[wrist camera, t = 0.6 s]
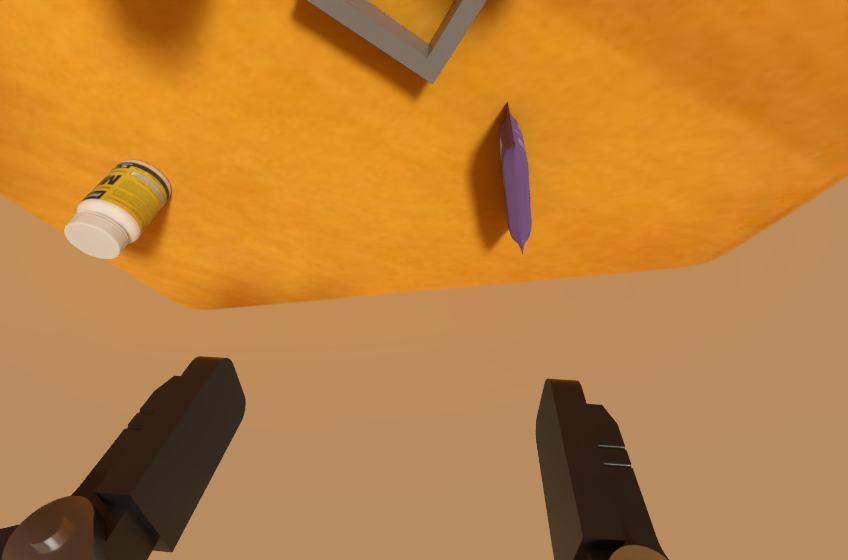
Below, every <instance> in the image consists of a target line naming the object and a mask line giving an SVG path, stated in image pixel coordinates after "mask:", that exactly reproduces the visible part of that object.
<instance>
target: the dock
mask: <svg viewBox="0 0 848 560" xmlns="http://www.w3.org/2000/svg"><path fill="white" fill-rule="evenodd" d="M307 1H309V2H310V3H312V4H313V5H315V6H316V7H318V8H319V9H321V10H322V11H324V12H325V13H327V14H328V15H330V16H331V17H333V18H334V19H336V20H337V21H339V22H340V23H342V24H343V25H345V26H346V27H348V28H349V29H351V30H352V31H354V32H355V33H357V34H358V35H360V36H361V37H363V38H364V39H366V40H367V41H369V42H370V43H372V44H373V45H375V46H376V47H378V48H379V49H381V50H382V51H384V52H385V53H387V54H388V55H390V56H391V57H393V58H394V59H396V60H397V61H399V62H400V63H402V64H403V65H405V66H406V67H408V68H409V69H411V70H412V71H414V72H415V73H417V74H418V75H420V76H421V77H422V78H424V79H425V80H427V81H428V82H430V83H431V84H433V83H434V82H435V80H436V79H437V77H438V75H439V74H440V72H441V71H442V69H443V68H444V66H445V64H446V63H447V61H448V60H449V58H450V57H451V55H452V54H453V52H454V50H455V49H456V47H457V46H458V44H459V43H460V41H461V40H462V38H463V36H464V35H465V33H466V32H467V30H468V29H469V27H470V25H471V24H472V22H473V21H474V19H475V18H476V16H477V15H478V13H479V11H480V10H481V8H482V7H483V5H484V4H485V2H486V0H455V2H454V3H453V5H452V7H451V8H450V10H449V12H448V14H447V15H446V17H445V19H444V20H443V22H442V24H441V25H440V27H439V29H438V30H437V32H436V34H435V36H434V37H433V39H432V41H431V42H430V44H427V43H426V42H425V41H423V40H422V39H420V38H419V37H417V36H416V35H415V34H413V33H412V32H410V31H409V30H408V29H406V28H405V27H403V26H402V25H400V24H399V23H398V22H396V21H395V20H393V19H392V18H391V17H389V16H388V15H386V14H385V13H383V12H382V11H381V10H379V9H378V8H376V7H375V6H374V5H372V4H371V3H369V2H368V1H367V0H307Z"/></svg>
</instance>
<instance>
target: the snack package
mask: <svg viewBox="0 0 848 560" xmlns="http://www.w3.org/2000/svg"><path fill="white" fill-rule="evenodd" d="M507 104H508V102H507ZM499 148H500V157H501V165H502V176H503V184H504V193H505V203H506V211H507V220H508V227H509V231H510V234H511V236H512V238H513V240H514V241H515V242H517V243H518V244H519V246H520V248H521V251H522V254H523V248H524V244H525V242H526V241H527V240H528V238H529V236H530V232H531V210H530V190H529V171H528V162H527V157H526V151H525V147H524V141H523V136H522V132H521V128H520V126H519V124H518V122H517V121H516V120H515V119H513V117H512V116H511V114H510V111H509V107H508V105H507V114H506V118H505V120H504V122H503V123H502V125H501V128H500V135H499Z"/></svg>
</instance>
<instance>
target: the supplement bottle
mask: <svg viewBox="0 0 848 560" xmlns="http://www.w3.org/2000/svg"><path fill="white" fill-rule="evenodd" d="M170 195H171V187H170V184H169V182H168V180H167V179H166V177H165V176H164V175H163V174H162V173H161V172H160V171H158V170H157V169H156V168H154V167H152V166H151V165H149V164H146V163H144V162H141V161H137V160H126V161H123V162H121V163H119V164H118V165H117V166H116V167H115V168H114V169H113V170H112V171H111V172H110V173H109V174H108V175H107V176H106V177H105V178H104V179H103V180H102V181H101V182H100V183H99V184H98V185H97V186H96V187H95V188H94V189H93V190H92V191H91V192H90V193H89V194H88V195H87V197H85V198H84V199H83V200H82V202H81V203H80V204H79V205H78V207H77V211H76V213H77V214H76V215H75V216H73V217H72V219H71V220H70V221H69V223H68V224H67V225H66V226H65V228H64V234H65V236H66V238H67V239H68V241H69V242H70V243H71V244H72V245H73V246H75V247H76V248H77V249H79V250H80V251H82V252H84V253H86V254H88V255H91V256H93V257H97V258H101V259H113V258H116V257H117V256H119V255H120V253H121V252H122V251H123V250H124V249H125V247H126V246H127V244H131V243H133V242H135V241H136V240H137V239H138V238H139V237H140V236H141V234H142V233H143V232H144V230H145V229H146V228H147V226H148V225H149V224H150V222H151V221H152V220H153V218H154V217H155V216H156V215H157V213H158V212H159V211H160V209H161V208H162V207H163V206H164V204H165V203H166V202H167V201H168V199H169V198H170Z"/></svg>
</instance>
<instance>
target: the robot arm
mask: <svg viewBox="0 0 848 560" xmlns="http://www.w3.org/2000/svg"><path fill="white" fill-rule="evenodd" d="M245 403H246V402H245V396H244V393H243V390H242V388H241V385H240V382H239V379H238V376H237V374H236V371H235V368H234V366H233V363H232V361H231V360H230V359H228V358H217V357H197V358H195V359H194V360H193V361H192V362H191V363H190V364H189V366H188V367H187V369H186V370H185V371H184V372H183V374H182V375H181V376H174V377H172V378H171V379H170V380H168V381H167V382H166V383H164V384H163V385H162V386H160V387H159V388H158V389H157V390H155V391H154V392H153V393H152V395H151V396H150V397H149V398H148V400H147V401H146V402H145V404H144V405H143V406H142V407H141V409H140V412H139V413H137V414H136V415H135V416H134V418H133V419H132V420H131V421H130V423H129V424H128V428H127V429H124V430H123V432H122V433H121V434H120V435H119V437H118V438H117V439H116V440H115V442H114V443H113V444H112V445H111V447H110V448H109V449H108V451H107V452H106V453H105V455H104V456H103V457H102V458H101V459H100V461H99V462H98V463H97V465H96V466H95V467H94V468H93V470H92V471H91V472H90V474H89V475H88V476H87V477H86V479H85V480H84V481H83V483H82V484H81V485H80V486H79V487H78V488H77V490H76V491H75V492H74V493H73V494H72V495H71V496H67V497H64V498H60V499H57V500H54V501H52V502H50V503H48V504H46V505H44V506H42V507H41V508H39V509H37V510H36V511H35V512H33V513H32V514H31V515H29V516H28V517H27V518H26V519H25V520H24V521H23V522H22V523H21V524H20V525H16V526H11V527H7V528H3V529H0V560H147V559H148V557H149V555H150V554H151V552H152V550H154V551H165V552H173V550H174V548H175V546H176V544H177V542H178V540H179V539H180V537H181V535H182V533H183V531H184V529H185V527H186V525H187V523H188V521H189V520H190V518H191V516H192V514H193V512H194V510H195V508H196V506H197V504H198V503H199V501H200V499H201V497H202V495H203V493H204V491H205V489H206V487H207V485H208V484H209V482H210V480H211V478H212V476H213V474H214V472H215V470H216V468H217V466H218V465H219V463H220V461H221V459H222V457H223V455H224V453H225V451H226V449H227V447H228V446H229V444H230V442H231V440H232V438H233V436H234V434H235V432H236V430H237V428H238V427H239V424H240V423H241V421H242V419H243V416H244V412H245ZM536 443H537V449H538V456H539V463H540V469H541V476H542V482H543V488H544V495H545V502H546V509H547V515H548V521H549V528H550V535H551V541H552V548H553V554H554V560H669V559H668V558H667V556H666V555H665V554H664V552H663V550H662V548H661V547H660V544H659V542H658V540H657V537H656V535H655V531H654V529H653V526H652V523H651V520H650V517H649V514H648V511H647V508H646V505H645V502H644V500H643V497H642V494H641V491H640V488H639V485H638V482H637V480H636V477H635V474H634V471H633V469H632V468H631V462H630V459H629V456H628V453H627V451H626V450H625V445H624V442H623V439H622V436H621V433H620V430H619V427H618V424H617V423H616V422H615V421H614V419H613V418H612V417H611V416H610V414H609V413H608V412H607V411H606V410H605V408H604V407H603V406H602V405H594V404H586V400H585V397H584V394H583V390H582V387H581V384H580V383H579V381H575V380H558V379H546V381H545V384H544V388H543V393H542V397H541V401H540V406H539V410H538V414H537V419H536Z"/></svg>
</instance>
